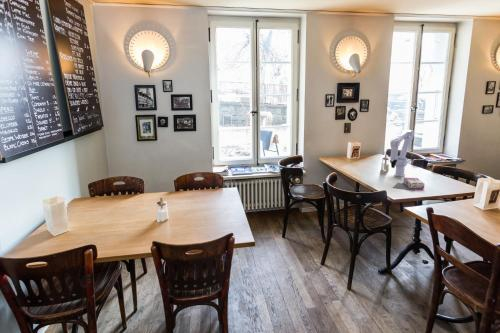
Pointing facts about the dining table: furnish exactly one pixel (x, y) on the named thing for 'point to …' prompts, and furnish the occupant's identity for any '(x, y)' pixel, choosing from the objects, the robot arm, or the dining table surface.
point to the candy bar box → (413, 183)
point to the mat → (402, 186)
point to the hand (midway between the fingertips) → (393, 167)
